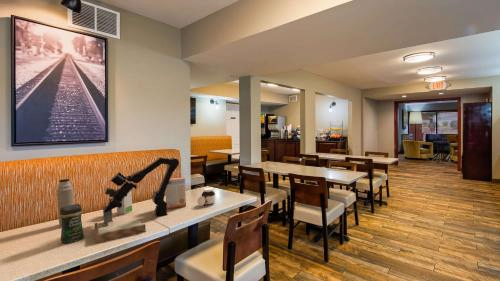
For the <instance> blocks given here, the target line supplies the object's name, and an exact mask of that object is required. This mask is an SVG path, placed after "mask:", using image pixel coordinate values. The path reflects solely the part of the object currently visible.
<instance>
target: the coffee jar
mask: <svg viewBox="0 0 500 281" xmlns="http://www.w3.org/2000/svg"><path fill="white" fill-rule="evenodd" d="M82 214H83V207H82V205H81V204H80V203H74V205H70V206H65V207H61V208H60V217H61V219H62V227H61V231H60V242H61V243H63V244H70V243H74V242H76V241H79V240H82V239H83V238H84V237H85V235H84V229H83V228H84V227H83V222H82Z"/></svg>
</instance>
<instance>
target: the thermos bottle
mask: <svg viewBox="0 0 500 281" xmlns="http://www.w3.org/2000/svg"><path fill="white" fill-rule="evenodd" d="M56 194H57V195H56V196H57V210H58V226H59V228H62V219H61V217H60V208H61V207H65V206H70V205H74V204H75V197H74V187H73V185H72V184H71V183H70V179H69V178H65V179H59V185H58V186H57V189H56Z"/></svg>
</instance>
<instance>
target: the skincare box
mask: <svg viewBox="0 0 500 281" xmlns="http://www.w3.org/2000/svg"><path fill="white" fill-rule="evenodd" d="M132 195H133V194H132V190H131V191H130V192H129V193H128V194H127V196H125V197H124V198H123V200H122V206H121V208H119V207H116V214H117V215H127V214H129V213H130V212H131V213H132V212H133V199H132V198H133V196H132Z"/></svg>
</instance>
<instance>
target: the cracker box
mask: <svg viewBox="0 0 500 281" xmlns="http://www.w3.org/2000/svg"><path fill="white" fill-rule="evenodd" d="M186 192H187V191H186V178H185V177H175V178H174V177H173V178H172V177H171V178H170V181H169V183H168V185H167V188H166V190H165V194H164V195H165V202H166V203H167V205H166V207H167V210H168V209H176V208H183V207H187V197H186V196H187V194H186Z"/></svg>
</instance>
